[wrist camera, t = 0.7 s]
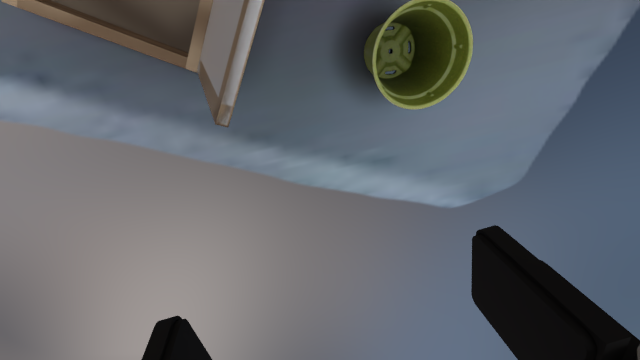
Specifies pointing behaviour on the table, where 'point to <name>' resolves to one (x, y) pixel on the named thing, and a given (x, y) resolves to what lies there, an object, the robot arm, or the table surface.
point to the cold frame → (135, 24)
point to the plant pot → (420, 53)
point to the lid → (227, 53)
